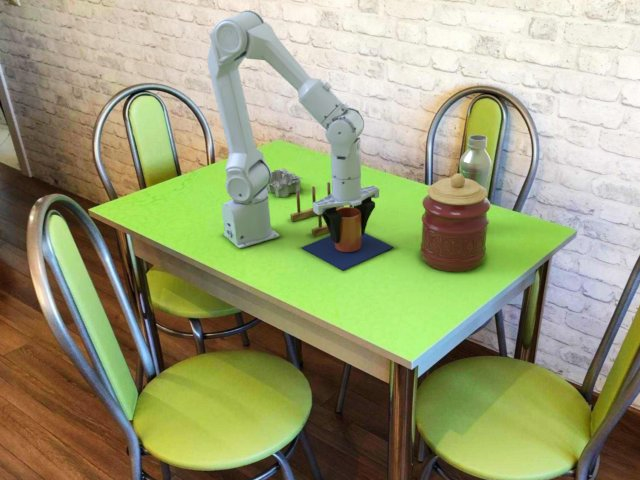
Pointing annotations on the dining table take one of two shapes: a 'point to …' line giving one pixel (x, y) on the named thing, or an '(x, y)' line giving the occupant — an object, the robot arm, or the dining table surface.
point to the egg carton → (283, 183)
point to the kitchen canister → (454, 224)
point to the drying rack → (311, 213)
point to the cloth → (347, 259)
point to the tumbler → (349, 230)
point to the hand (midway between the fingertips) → (347, 237)
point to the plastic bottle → (476, 161)
